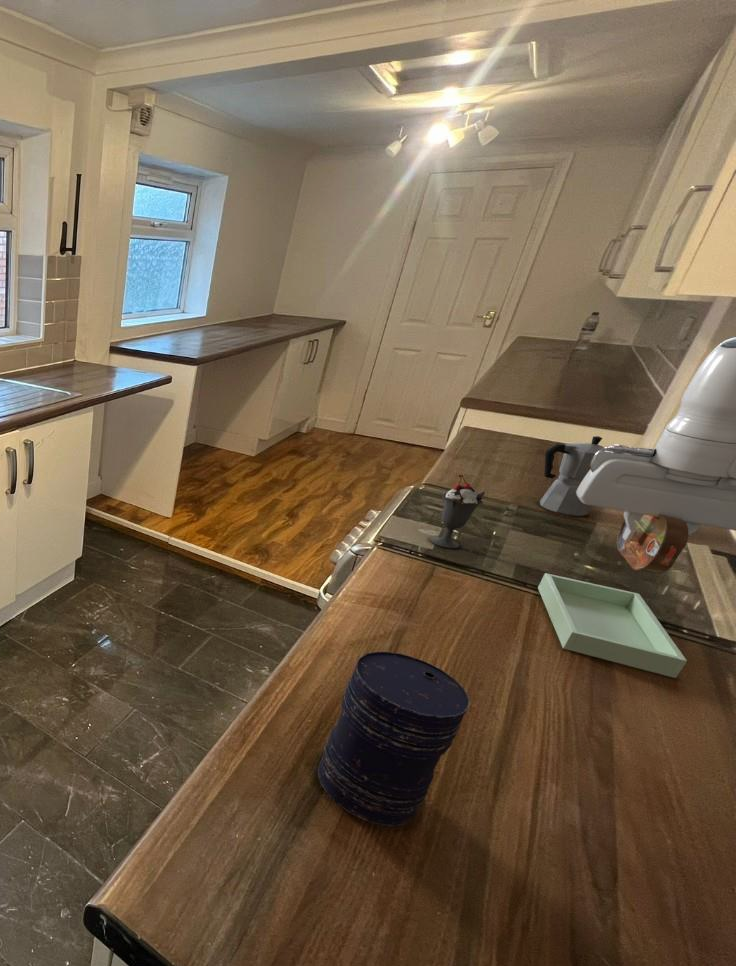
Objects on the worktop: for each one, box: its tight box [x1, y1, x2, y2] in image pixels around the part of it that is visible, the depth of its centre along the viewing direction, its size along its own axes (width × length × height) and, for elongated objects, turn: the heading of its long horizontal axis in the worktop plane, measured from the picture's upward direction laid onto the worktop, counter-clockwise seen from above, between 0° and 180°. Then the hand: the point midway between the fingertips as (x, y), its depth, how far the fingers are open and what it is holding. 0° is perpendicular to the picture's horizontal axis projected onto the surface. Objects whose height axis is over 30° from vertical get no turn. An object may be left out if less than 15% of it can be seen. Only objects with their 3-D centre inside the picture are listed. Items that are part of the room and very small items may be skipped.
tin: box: [616, 514, 689, 575], centre depth 87 cm, size 15×3×8 cm, turn 148°
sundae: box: [430, 474, 486, 550], centre depth 117 cm, size 7×7×15 cm
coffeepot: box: [539, 435, 611, 517], centre depth 136 cm, size 15×9×18 cm, turn 79°
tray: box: [537, 572, 688, 679], centre depth 93 cm, size 13×22×3 cm, turn 149°
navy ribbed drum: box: [317, 651, 470, 827], centre depth 60 cm, size 10×10×15 cm
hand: (646, 543), depth 87 cm, fingers closed on tin, 2 cm apart
